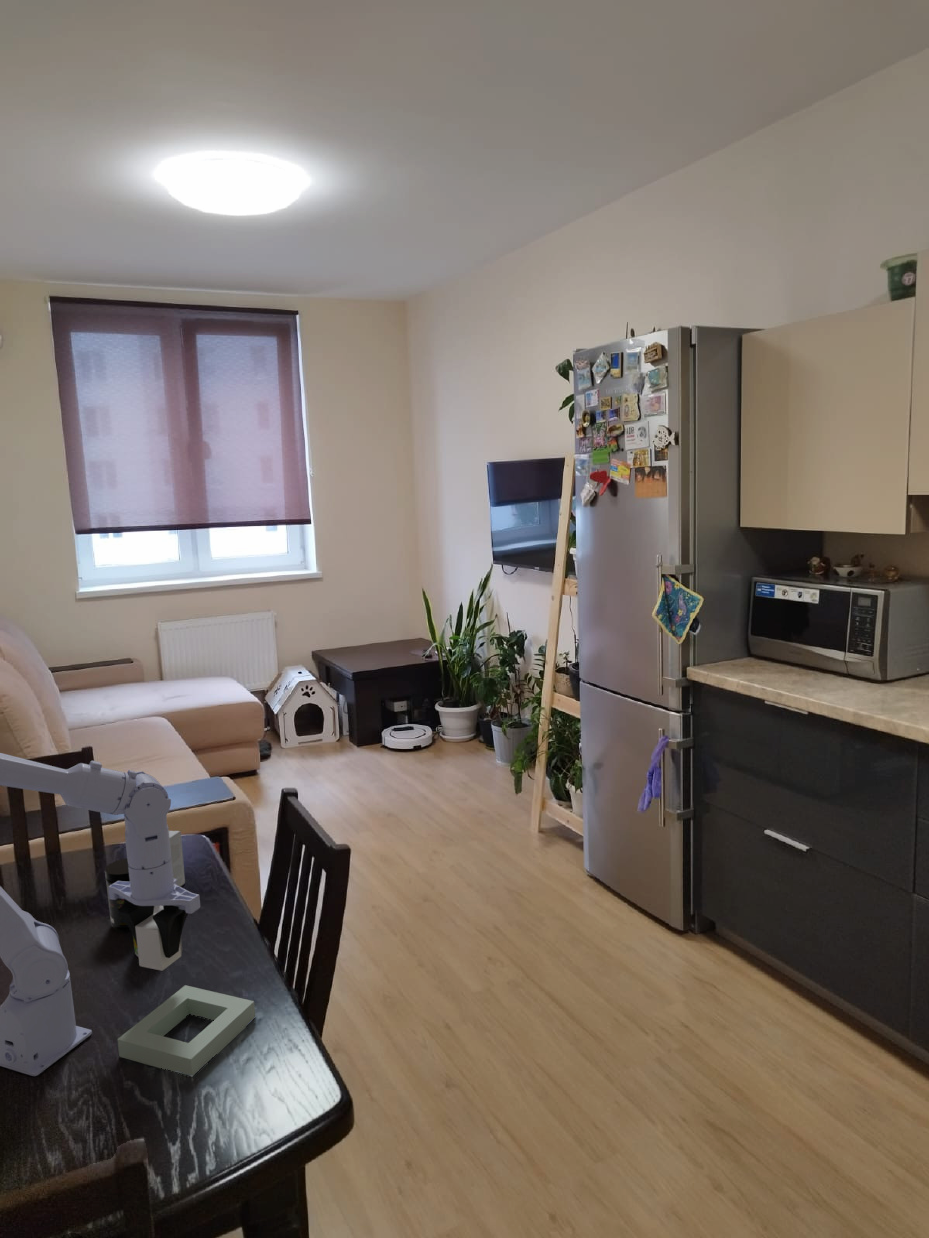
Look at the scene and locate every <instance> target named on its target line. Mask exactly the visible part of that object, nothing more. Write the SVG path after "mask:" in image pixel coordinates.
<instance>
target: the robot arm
mask: <svg viewBox="0 0 929 1238" xmlns="http://www.w3.org/2000/svg"><path fill="white" fill-rule="evenodd" d="M0 786H3V787H7V788H8V787H9V788H15V789H22V790H29V791H34V792H41V793H48V794H55V795H59V796H60V797H61V798H62V800H63V802H64V804H65V805H66V806H67V807H73V808H76V809H82V810H88V811H93V812H97V813H103V814H106V815H107V814H108V815H113V816H117V815H123V819H124V829H125V830H124V838H125V849H126V850H125V851H126V858H127V859H128V869H129V878H130V882H125V881H117V882H115V883H113V884H112V885H110V886H108V890H109V899H112V900H116V899H118V898H121V899H124V903H123V906H121V907H120V908H118V915H119V916H120V917H121V918H122V919H123V920H124V921H125V923H126V924H127V926H128V927H129V929H130V931H129V932H130V933H131V934H132V938H133V937H134V939H135V941H136V944H137V938H136V929H135V926H136V925H138V924H139V923H141V922H142V921H144V920H145V919H147V918H148V917H150V916H151V915H153V913H154V906H163V908H164V910H161V911H159V912H158V913H156V914H155V915H154V916H153V920H154V921H155V923H156V925H157V927H158V929H159V932H160V935H161V939H162V946H163V952H164V955H165V957H167V958H170V957H172V956H173V955H174V954H176V953H177V952H178V951H179V945H180V939H181V940H182V934H183V930H184V929H183V928H184V925H185V923H186V920H187V918H188V915H189V914H190V915H191V914H193V913H195V912H196V911H198V910H199V909H200V908H201V900H200V899H201V898H200V894H197V893H194V892H191V891H189V890H187V889H185V888H184V887H182V886H181V887H180V886H178V885H176V884H177V879H173V869H172V859H171V848H170V838H169V831H170V830H169V826H168V818H167V815H168V813H169V811H170V808H171V806H172V805H171V804H172V802H171V801H172V799H171V798H169V795H168V792H167V791H166V789H165V788H164V786H162V784H161V783H160V782H159V780H157V779H156V778H155V777H154V776H152V775H150V774H148V773H145V772H144V771H142V770H141V771H139V770H138V771H135V770H133V769H132V770H131V769H128V770H127V772H124V771H121V770H120V771H119V770H114V769H110V768H106V767H103V765H102V763H101V762H100V761H96V760H91V761H90V762H89V764H87V763H83V762H80V763H77V764H76V765H74V766H72V767H70V768H61V767H58V766H54V765H53V766H52V765H49V764H46V763H41V762H38V761H35V760H34V761H33V760H29V759H26V758H22V757H18V756H13V755H10V754H6V753H2V752H0ZM0 959H1V961H2V962H3V964H4V965H5V966H6V967H7V969H8V970H9V971H10V972H11V974H12V980H11V983H9V993H8V995H7V997H6V998H5V1000H4V1001H3V1003H2V1004H0V1067H2V1068H6V1069H8V1070H12V1071H15V1072H18V1073H22V1074H25V1075H28V1076H32V1077H36V1076H39V1075H40V1074H41V1073H43V1072H44V1071H46V1069H48V1068H49V1067H51V1066H52V1065H53V1064H54V1063H56V1062H57V1061H58V1060H60V1059H61V1058H62V1057H64V1056H65V1055H66V1054H68V1053H69V1052H71V1050H73V1049H75V1047H78V1045H80V1043H81V1044H82V1042H83V1041H85V1040H86V1039H87V1038H89V1037H90V1036H91V1035H92V1034H93V1031H92V1029H90V1028H85V1027H82V1026H79V1025H77V1024H76V1023H77V1022H76V1018H75V1017H76V1014H75V1008H74V999H73V998H74V997H73V991H72V983H71V975H70V970H69V967H68V961H67V959H66V957H65V955H64V953H63V950H62V947H61V944H60V936H59V934H58V932H57V930H56V929H55V928H54V927H53V926H52V925H49V924H48V923H45V922H44V923H43V922H42V921H39V920H36V918H34V917H33V915H32V914H31V913H29V912H28V911H24V910H22V908H21V907H20V906H19V905H18V903H16V902H15V901H14V900H13V898H12V897H11V896H10V895H9V894H8V893H7V892H6V891H5V889H3V887H2V886H1V885H0Z"/></svg>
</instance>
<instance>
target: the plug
mask: <svg viewBox="0 0 929 1238" xmlns="http://www.w3.org/2000/svg"><path fill="white" fill-rule="evenodd" d="M155 914H156V913H154V914H153V915H151V916H150V917H148V918H147V919H145V920H144V921H142V922H141V923H139V924H138V925H136V926H135V929H136V938H137V947H138V956H139V957H138V956H137V957H138V964H139V967H142V968H146V969H153V970H158V971H161V972H162V971H164V970H165V969H167V968H168V967H169V966H170V965H172V964H173V963H174V962H176V961H177V960H178V959H180V958H182V952H183V951H184V950H183V942H182V938H181V939H180V945H179V951H178V952H177V953H176V954H174V955H173V956H172V957H170V958H167V957H165V955H164V952H163V946H162V939H161V935H160V932H159V929H158V927H157V925H156V923H155V921H154V920H153V916H154V915H155Z"/></svg>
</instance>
